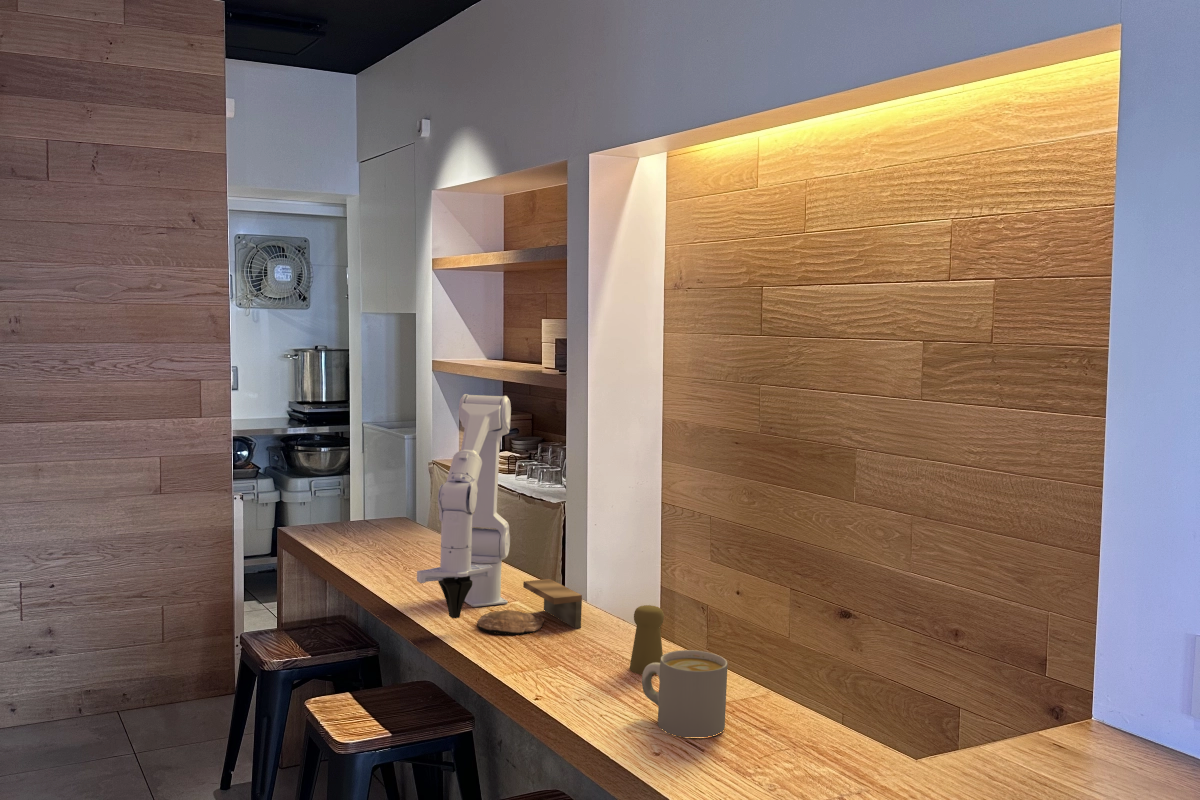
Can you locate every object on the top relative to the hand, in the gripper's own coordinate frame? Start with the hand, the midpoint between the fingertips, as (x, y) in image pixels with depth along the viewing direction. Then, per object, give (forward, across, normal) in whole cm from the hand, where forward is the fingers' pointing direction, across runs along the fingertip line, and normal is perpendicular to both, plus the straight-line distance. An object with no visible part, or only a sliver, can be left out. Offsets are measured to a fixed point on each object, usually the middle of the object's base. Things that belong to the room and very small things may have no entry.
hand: (454, 616), depth 197 cm
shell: (+4, +11, 0) cm, 12 cm away
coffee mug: (+4, +15, -55) cm, 57 cm away
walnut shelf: (+3, +21, +1) cm, 21 cm away
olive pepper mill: (+3, +23, -32) cm, 40 cm away
